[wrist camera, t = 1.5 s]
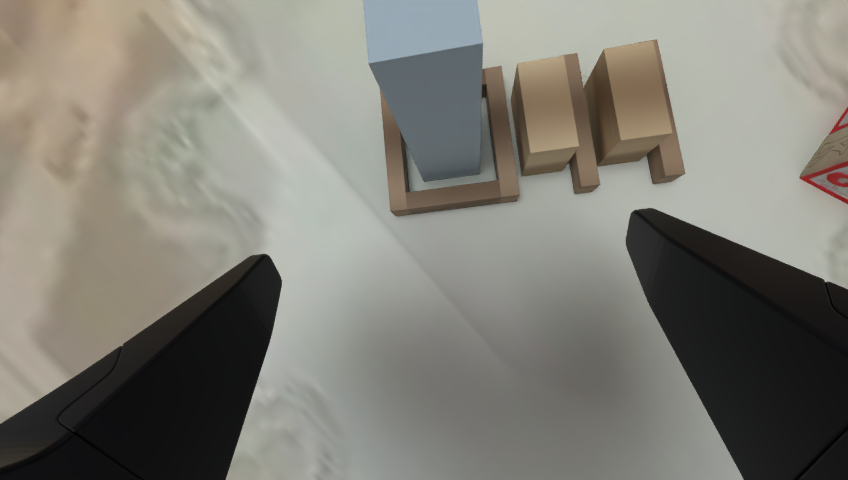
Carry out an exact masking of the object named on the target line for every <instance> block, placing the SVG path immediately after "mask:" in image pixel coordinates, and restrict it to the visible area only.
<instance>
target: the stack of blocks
mask: <svg viewBox="0 0 848 480" xmlns="http://www.w3.org/2000/svg"><path fill="white" fill-rule="evenodd" d="M800 179H802V180H803V181H805V182H807V183H809V184H811V185H813V186H815V187H817V188H818V189H820V190H822V191H824V192H826V193H828V194H830V195H831V196H833V197H835V198H837V199H839V200H841V201H843V202H845V203H847V204H848V108H847V109H846V111H845V112H844V113H843V115H842V116H841V118H840V119H839V121H838V122H837V123H836V125H835V126H834V128H833V129H832V131H831V132H830V134H829V136H828V137H827V138H826V139H825V140H824V142H823V143H822V144H821V146H820V147H819V149H818V150H817V152H816V153H815V154H814V156H813V157H812V159H811V160H810V162H809V163H808V165H807V166H806V167H805V169H804V170H803V172H802V173H801V175H800Z"/></svg>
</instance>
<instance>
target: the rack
mask: <svg viewBox="0 0 848 480" xmlns="http://www.w3.org/2000/svg"><path fill="white" fill-rule="evenodd" d="M651 41H653V42H654V47H655V52H656V56H657V61H658V66H659V71H660V75H661V80H662V85H663V90H664V95H665V99H666V104H667V109H668V114H669V119H670V123H671V128H672V134H671V135H670V136H668V137H667V138H666V139H665V140H664V141H662V142H661V143H660V144H659V145H657V146H656V147H655V148H654V149H653V150H651V151H650V152H649V153H648V154H647V157H648V162H649V167H650V172H651V177H652V182H653V184H656V183H664V182H671V181H673V180H675V179H677V178H678V177H680V176H682V175H684V174H685V170H684V165H683V160H682V155H681V151H680V146H679V141H678V136H677V132H676V127H675V122H674V118H673V113H672V108H671V103H670V99H669V94H668V89H667V84H666V80H665V75H664V70H663V65H662V61H661V56H660V51H659V46H658V42H657V40H651ZM645 42H648V41H645ZM639 43H642V42H639ZM563 56H564V59H565V65H566V71H567V77H568V83H569V89H570V94H571V100H572V106H573V112H574V118H575V124H576V130H577V136H578V142H579V147H578V149H577V150H576V151H575V153H574V154H573V156H572V157H571V159H570V160H569V163H570V169H571V175H572V181H573V187H574V193H575V194H576V193H584V192H592V191H593V190H594V189H595V188H597V187H598V186H599V185H600V181H599V175H598V169H597V163H596V158H595V152H594V146H593V140H592V135H591V129H590V123H589V117H588V112H587V106H586V100H585V94H584V89H583V83H582V77H581V71H580V66H579V60H578V54H577V53H575V54H569V55H563ZM380 94H381V106H382V118H383V130H384V141H385V153H386V165H387V176H388V188H389V200H390V211H391V212H392V213H393V214H394V215H395V216H402V215H410V214H418V213H426V212H434V211H442V210H450V209H458V208H465V207H473V206H481V205H489V204H497V203H505V202H513V201H517V199H518V197H519V189H518V182H517V175H516V167H515V160H514V153H513V146H512V139H511V132H510V125H509V117H508V110H507V103H506V96H505V89H504V82H503V74H502V67H501V66H498V67H492V68H486V69H482V96H481V98H482V97H486V101H487V109H488V116H489V124H490V131H491V139H492V147H493V154H494V162H495V170H496V177H497V181H490V182H482V183H475V184H467V185H460V186H452V187H445V188H437V189H430V190H422V191H415V192H409V184H408V173H407V162H406V152H405V141H404V138H403V136H402V134H401V132H400V130H399V127H398V125H397V123H396V121H395V119H394V117H393V115H392V113H391V110H390V108H389V106H388V104H387V102H386V100H385V98H384V96H383V93H382V91H381V89H380Z"/></svg>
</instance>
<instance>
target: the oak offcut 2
mask: <svg viewBox="0 0 848 480" xmlns="http://www.w3.org/2000/svg"><path fill="white" fill-rule="evenodd" d="M583 89H584V94H585V100H586V106H587V112H588V117H589V123H590V129H591V135H592V140H593V146H594V152H595V158H596V163H597V166H604V165H611V164H619V163H626V162H634V161H639V160H640V159H641V158H643V157H644V156H645V155H646V154H648V153H649V152H650V151H651V150H653V149H654V148H655V147H656V146H657V145H659V144H660V143H661V142H662V141H664V140H665V139H666V138H667V137H668V136H670V135H671V134H672V128H671V123H670V119H669V114H668V109H667V104H666V99H665V95H664V90H663V85H662V80H661V75H660V71H659V66H658V61H657V56H656V52H655V47H654V42H653V41H648V42H642V43H636V44H630V45H624V46H618V47H613V48H607V49H604V50H603V52H602V54H601V55H600V57H599V59H598V61H597V63H596V65H595V67H594V69H593V71H592V73H591V75H590V77H589V78H588V80H587V82H586V84H585V86H584V88H583Z"/></svg>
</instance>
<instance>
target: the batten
mask: <svg viewBox="0 0 848 480" xmlns="http://www.w3.org/2000/svg"><path fill="white" fill-rule="evenodd" d="M363 3H364V16H365V28H366V40H367V53H368V64H369V66H370V68H371V70H372V72H373V74H374V76H375V79H376V81H377V83H378V85H379V87H380V89H381V91H382V93H383V96H384V98H385V100H386V102H387V104H388V106H389V108H390V110H391V113H392V115H393V117H394V119H395V121H396V123H397V125H398V127H399V130H400V132H401V134H402V136H403V138H404V140H405V142H406V144H407V147H408V149H409V151H410V153H411V155H412V157H413V159H414V161H415V164H416V166H417V168H418V170H419V172H420V174H421V176H422V178H423V181H424V182H425V181H433V180H440V179H447V178H455V177H462V176H469V175H477V174H480V136H481V96H482V56H483V41H482V33H481V25H480V18H479V10H478V3H477V0H363Z"/></svg>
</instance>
